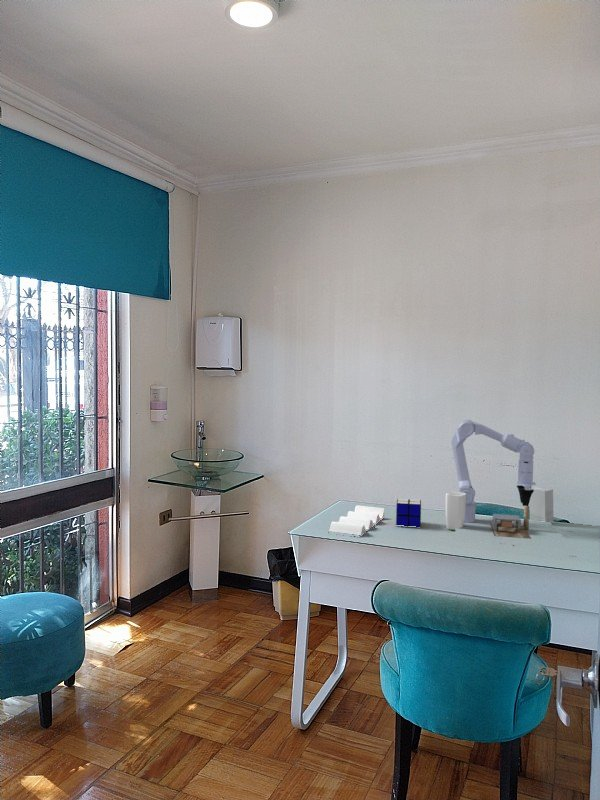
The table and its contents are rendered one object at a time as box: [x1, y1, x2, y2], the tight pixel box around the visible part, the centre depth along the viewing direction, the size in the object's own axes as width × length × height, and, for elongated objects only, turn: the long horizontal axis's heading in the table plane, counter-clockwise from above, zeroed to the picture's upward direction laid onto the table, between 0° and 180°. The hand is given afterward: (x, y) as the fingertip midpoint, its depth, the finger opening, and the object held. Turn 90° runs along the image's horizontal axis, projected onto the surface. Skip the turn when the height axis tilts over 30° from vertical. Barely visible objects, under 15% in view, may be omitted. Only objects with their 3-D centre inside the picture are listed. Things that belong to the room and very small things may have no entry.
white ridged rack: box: [328, 505, 385, 537], centre depth 261 cm, size 13×35×5 cm, turn 157°
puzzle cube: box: [395, 498, 422, 528], centre depth 264 cm, size 10×10×10 cm
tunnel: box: [491, 513, 522, 532], centre depth 252 cm, size 10×8×5 cm
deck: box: [489, 523, 532, 540], centre depth 251 cm, size 14×20×2 cm
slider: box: [497, 505, 530, 532], centre depth 251 cm, size 12×8×9 cm, turn 78°
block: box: [500, 520, 513, 527], centre depth 252 cm, size 4×4×4 cm
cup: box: [445, 491, 466, 531], centre depth 257 cm, size 7×7×15 cm
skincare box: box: [529, 486, 554, 524], centre depth 271 cm, size 8×6×15 cm
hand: (524, 504), depth 259 cm, fingers open, 5 cm apart
